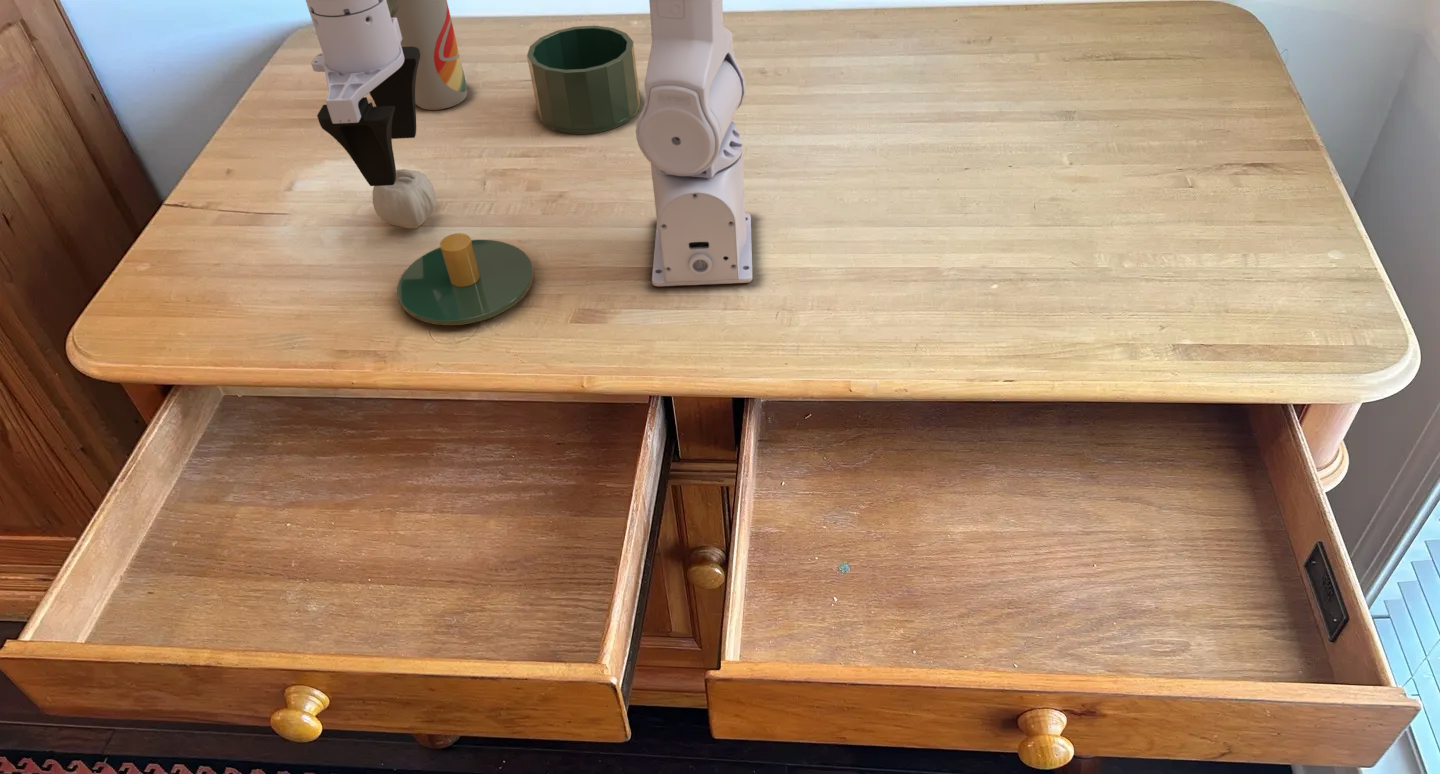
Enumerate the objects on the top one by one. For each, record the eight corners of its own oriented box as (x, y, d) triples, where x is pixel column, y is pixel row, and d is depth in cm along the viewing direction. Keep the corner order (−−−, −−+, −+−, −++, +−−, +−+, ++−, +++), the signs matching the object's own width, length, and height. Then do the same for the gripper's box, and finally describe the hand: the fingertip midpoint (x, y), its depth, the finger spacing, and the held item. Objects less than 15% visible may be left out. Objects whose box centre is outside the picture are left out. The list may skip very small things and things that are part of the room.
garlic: (455, 220, 93) (442, 168, 89) (402, 246, 90) (385, 193, 87) (420, 195, 96) (405, 144, 93) (367, 220, 94) (350, 168, 90)
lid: (524, 328, 81) (513, 280, 78) (386, 334, 81) (369, 286, 78) (542, 247, 89) (533, 200, 86) (416, 252, 89) (402, 206, 86)
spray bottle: (479, 89, 111) (433, -110, 98) (447, 114, 107) (395, -90, 94) (435, 82, 113) (384, -116, 100) (402, 106, 109) (345, -96, 96)
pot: (636, 131, 103) (628, 69, 98) (532, 136, 103) (520, 74, 99) (642, 83, 110) (635, 23, 106) (545, 88, 111) (535, 28, 106)
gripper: (322, -33, 85) (368, 119, 95) (264, 45, 75) (322, 208, 84) (407, -37, 85) (446, 115, 94) (361, 40, 74) (410, 204, 84)
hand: (393, 159), depth 89 cm, fingers open, 7 cm apart
